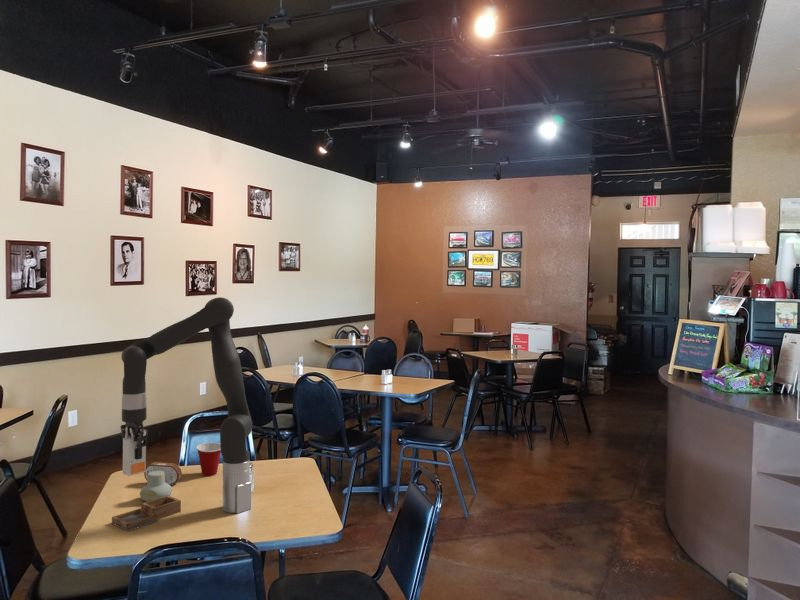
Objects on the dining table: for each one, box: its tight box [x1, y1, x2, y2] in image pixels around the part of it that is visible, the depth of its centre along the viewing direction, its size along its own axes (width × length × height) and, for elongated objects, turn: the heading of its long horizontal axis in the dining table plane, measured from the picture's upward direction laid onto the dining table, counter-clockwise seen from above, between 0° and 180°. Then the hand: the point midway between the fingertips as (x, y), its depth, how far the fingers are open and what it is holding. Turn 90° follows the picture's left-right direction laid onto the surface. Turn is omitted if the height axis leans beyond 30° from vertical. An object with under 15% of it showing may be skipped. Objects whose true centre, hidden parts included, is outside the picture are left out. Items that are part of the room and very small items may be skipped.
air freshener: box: [139, 471, 173, 502], centre depth 221 cm, size 11×8×10 cm
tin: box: [143, 461, 183, 486], centre depth 238 cm, size 15×3×8 cm, turn 81°
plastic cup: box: [196, 442, 222, 477], centre depth 250 cm, size 11×11×12 cm
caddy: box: [111, 495, 182, 532], centre depth 203 cm, size 10×20×4 cm, turn 143°
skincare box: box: [122, 437, 147, 477], centre depth 199 cm, size 6×4×12 cm
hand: (134, 457), depth 199 cm, fingers closed on skincare box, 4 cm apart
